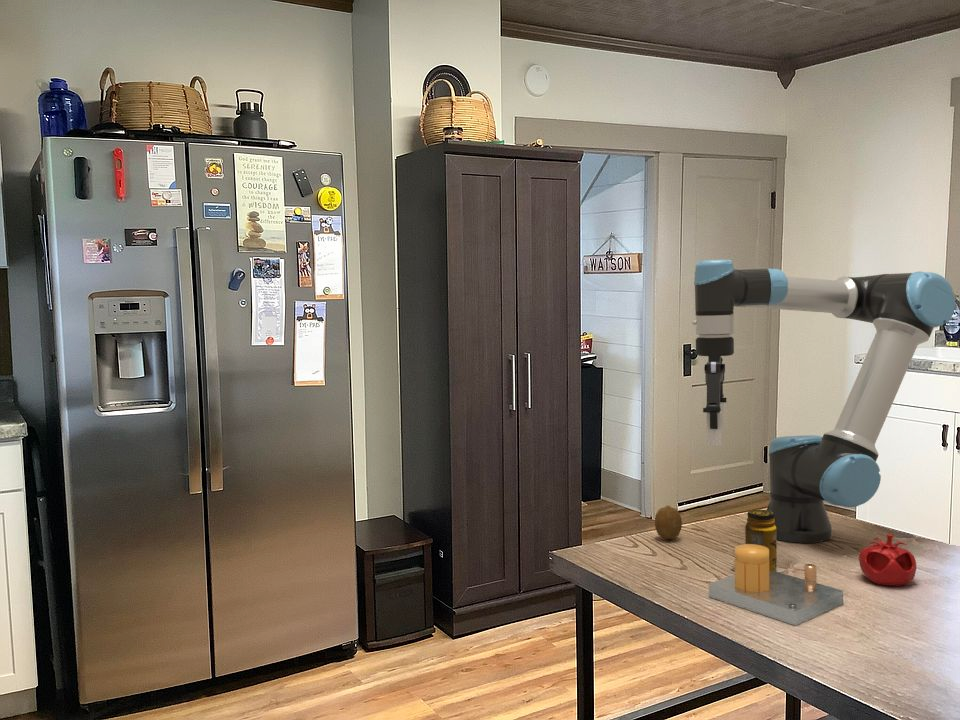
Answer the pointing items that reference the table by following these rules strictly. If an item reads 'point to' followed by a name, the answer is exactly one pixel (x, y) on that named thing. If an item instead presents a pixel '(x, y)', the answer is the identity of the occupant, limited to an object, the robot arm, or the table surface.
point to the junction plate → (782, 596)
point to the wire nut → (752, 567)
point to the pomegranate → (887, 563)
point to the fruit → (668, 522)
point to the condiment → (762, 534)
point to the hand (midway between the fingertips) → (715, 439)
